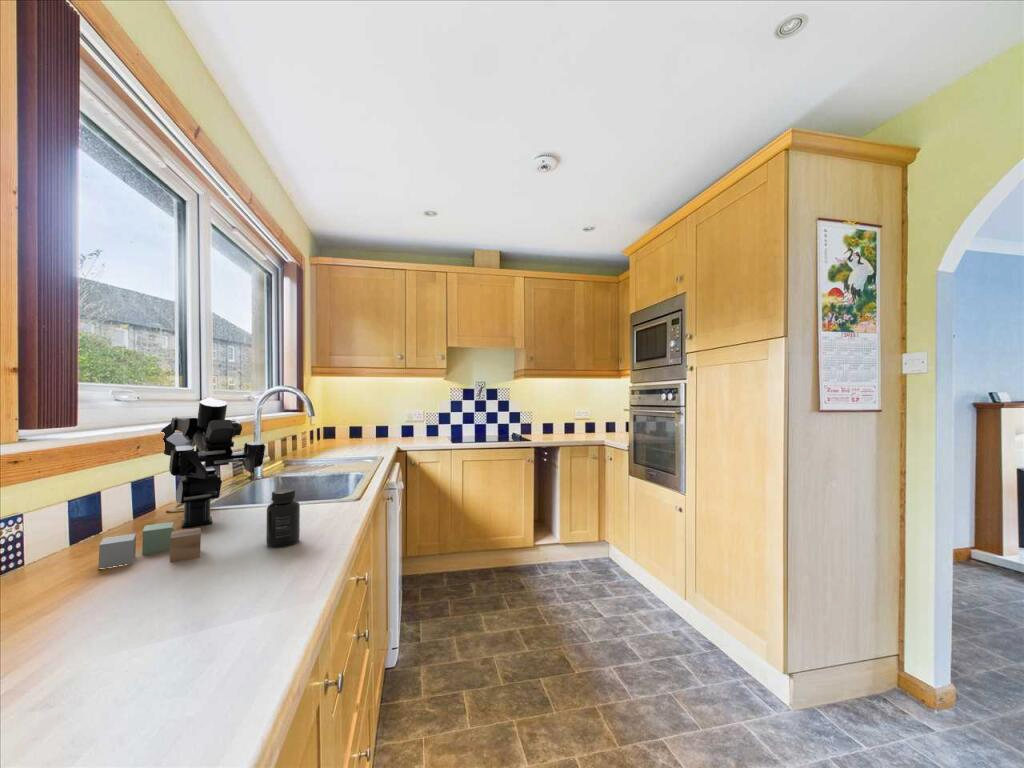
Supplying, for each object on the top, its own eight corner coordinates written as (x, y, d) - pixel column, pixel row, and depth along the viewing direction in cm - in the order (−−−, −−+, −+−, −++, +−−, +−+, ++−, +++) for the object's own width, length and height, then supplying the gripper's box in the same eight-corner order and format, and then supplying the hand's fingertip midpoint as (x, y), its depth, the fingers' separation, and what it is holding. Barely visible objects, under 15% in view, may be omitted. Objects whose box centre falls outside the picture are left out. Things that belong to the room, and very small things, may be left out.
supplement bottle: (305, 538, 102) (306, 488, 103) (287, 548, 96) (288, 494, 96) (278, 537, 103) (279, 487, 103) (258, 547, 96) (260, 493, 97)
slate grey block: (102, 562, 88) (103, 537, 88) (135, 557, 91) (136, 533, 91) (98, 570, 84) (99, 544, 84) (132, 565, 87) (133, 539, 87)
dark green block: (144, 548, 96) (145, 525, 96) (172, 543, 99) (173, 521, 99) (142, 554, 92) (142, 531, 92) (171, 550, 95) (172, 527, 95)
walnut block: (171, 555, 92) (171, 531, 92) (200, 550, 95) (200, 527, 95) (169, 562, 88) (170, 538, 88) (200, 557, 91) (200, 533, 91)
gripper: (168, 415, 99) (184, 444, 89) (257, 413, 113) (279, 438, 103) (163, 459, 101) (178, 492, 91) (251, 451, 115) (272, 479, 106)
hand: (230, 473), depth 98 cm, fingers open, 9 cm apart
